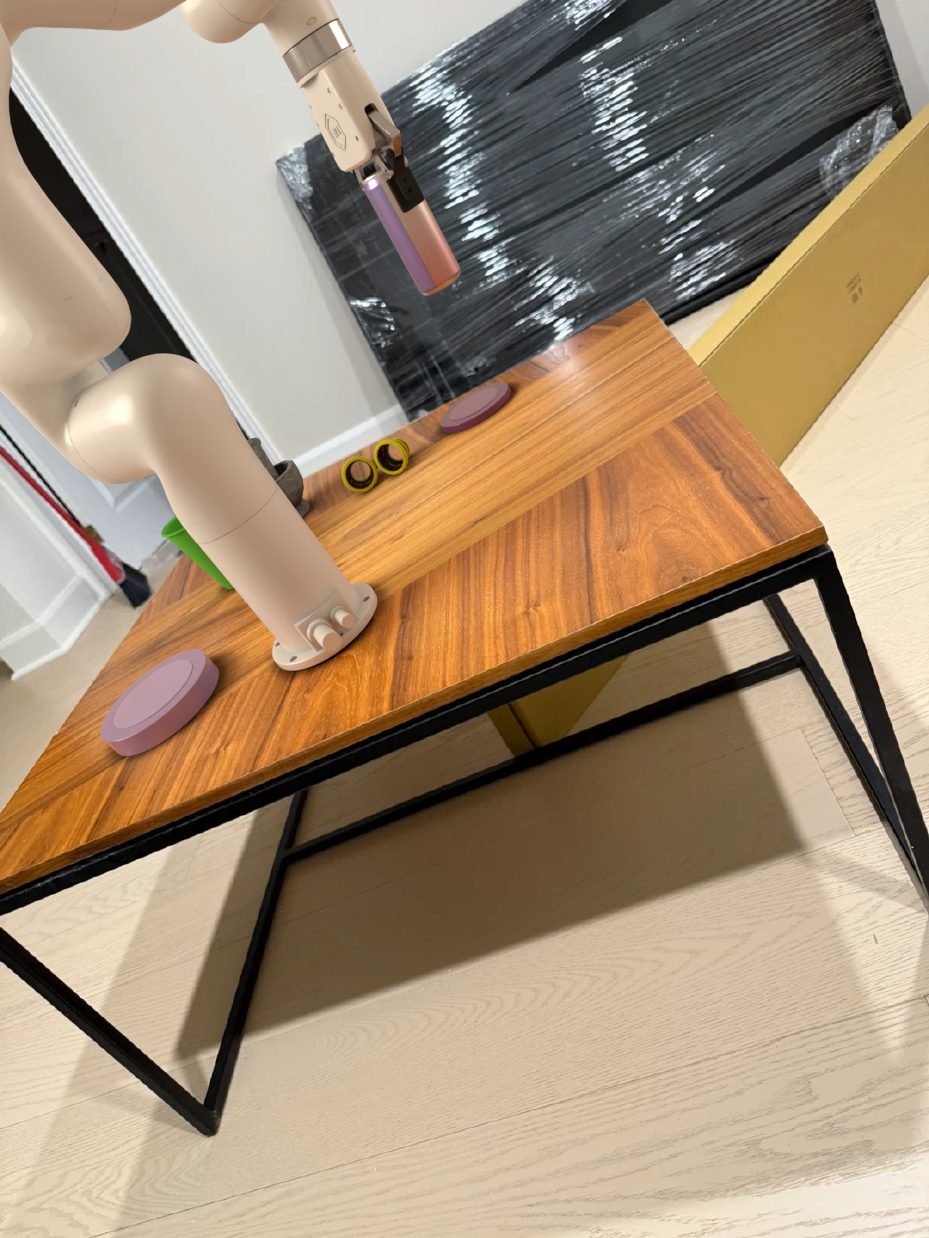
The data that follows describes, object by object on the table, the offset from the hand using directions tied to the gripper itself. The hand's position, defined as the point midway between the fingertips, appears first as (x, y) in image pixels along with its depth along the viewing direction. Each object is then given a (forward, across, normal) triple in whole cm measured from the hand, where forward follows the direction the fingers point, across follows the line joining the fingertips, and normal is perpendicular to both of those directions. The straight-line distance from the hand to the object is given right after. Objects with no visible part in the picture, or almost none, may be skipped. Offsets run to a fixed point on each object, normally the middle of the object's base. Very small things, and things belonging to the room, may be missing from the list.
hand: (402, 210), depth 102 cm
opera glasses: (+27, -6, -19) cm, 34 cm away
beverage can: (+10, 0, 0) cm, 10 cm away
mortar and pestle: (+27, -18, -31) cm, 45 cm away
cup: (+28, -10, -43) cm, 52 cm away
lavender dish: (+28, +11, -59) cm, 66 cm away
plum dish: (+27, -4, -3) cm, 28 cm away
